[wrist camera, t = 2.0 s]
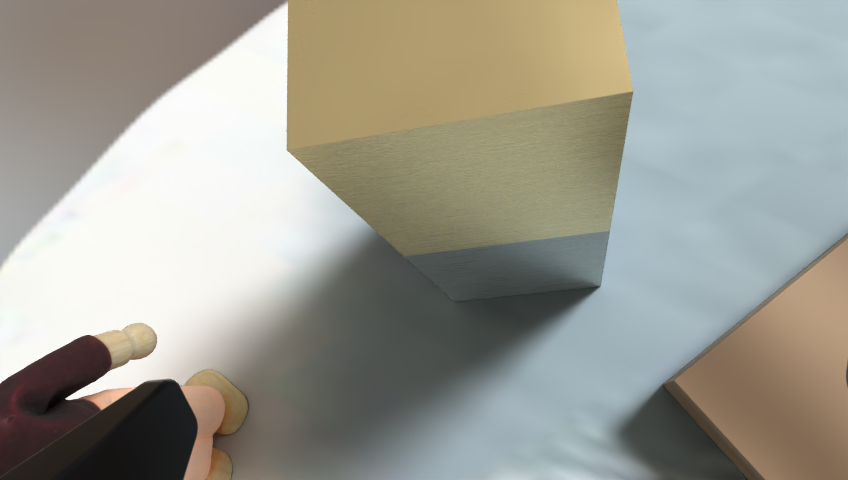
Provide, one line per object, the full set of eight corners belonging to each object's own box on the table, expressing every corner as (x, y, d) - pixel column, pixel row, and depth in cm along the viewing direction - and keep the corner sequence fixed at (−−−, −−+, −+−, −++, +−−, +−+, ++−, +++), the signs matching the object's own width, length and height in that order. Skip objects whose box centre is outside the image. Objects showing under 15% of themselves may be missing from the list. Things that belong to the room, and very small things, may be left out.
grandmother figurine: (172, 342, 23) (-241, 269, 12) (262, 344, 22) (-89, 266, 11) (139, 561, 21) (-405, 743, 10) (236, 573, 20) (-235, 791, 9)
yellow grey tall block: (600, 286, 20) (633, 91, 8) (453, 301, 21) (286, 150, 9) (580, 150, 22) (583, -190, 9) (444, 170, 23) (288, -111, 11)
